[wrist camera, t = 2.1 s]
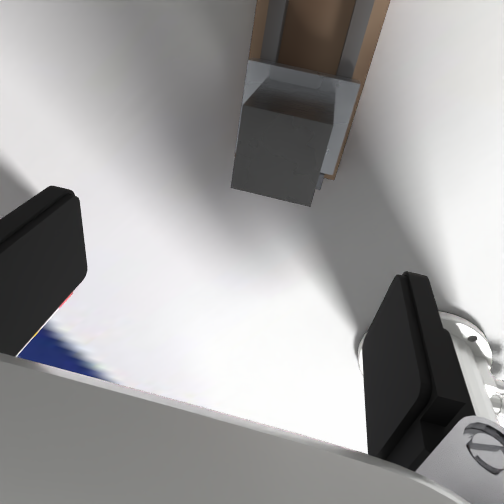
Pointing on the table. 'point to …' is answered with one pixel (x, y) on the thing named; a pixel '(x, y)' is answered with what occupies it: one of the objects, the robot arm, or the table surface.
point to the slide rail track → (320, 39)
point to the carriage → (290, 129)
